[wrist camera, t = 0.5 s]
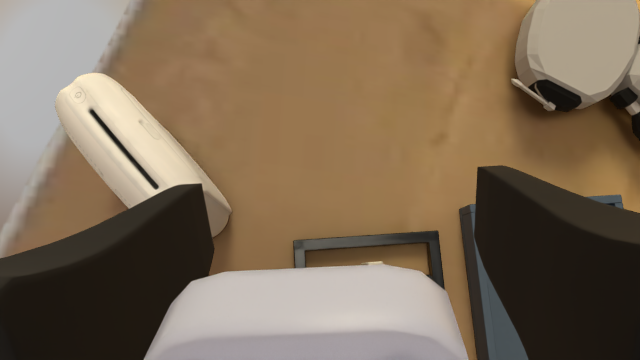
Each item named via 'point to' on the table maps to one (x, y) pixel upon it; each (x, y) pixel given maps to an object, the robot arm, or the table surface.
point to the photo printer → (131, 145)
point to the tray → (494, 296)
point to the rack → (377, 240)
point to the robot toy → (581, 54)
